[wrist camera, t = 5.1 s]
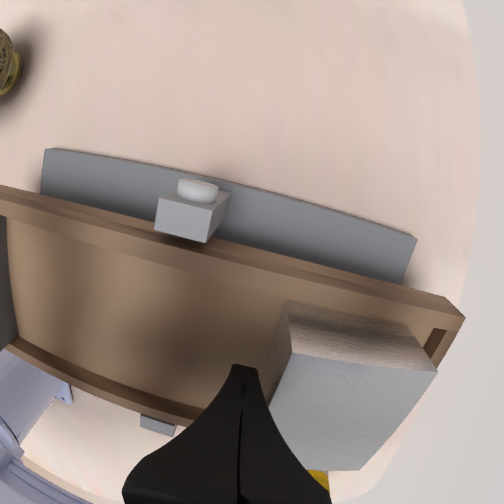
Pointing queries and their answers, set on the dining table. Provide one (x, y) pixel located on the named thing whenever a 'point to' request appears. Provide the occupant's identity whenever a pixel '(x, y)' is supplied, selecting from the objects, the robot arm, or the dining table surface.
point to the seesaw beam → (167, 304)
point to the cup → (8, 64)
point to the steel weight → (341, 384)
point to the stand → (226, 217)
